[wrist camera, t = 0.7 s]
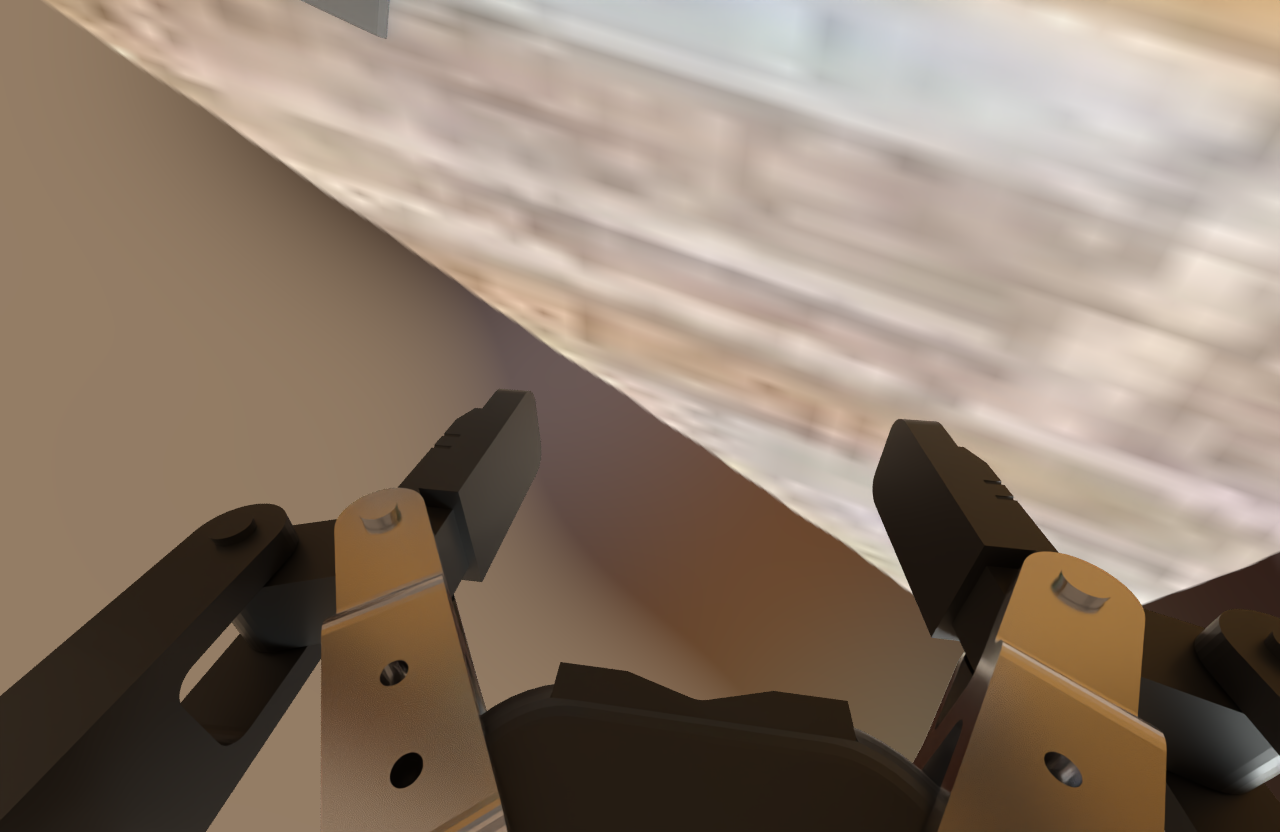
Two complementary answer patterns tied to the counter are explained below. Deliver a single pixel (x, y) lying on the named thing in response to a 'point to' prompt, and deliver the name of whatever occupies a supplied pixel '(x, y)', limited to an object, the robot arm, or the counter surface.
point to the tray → (358, 13)
